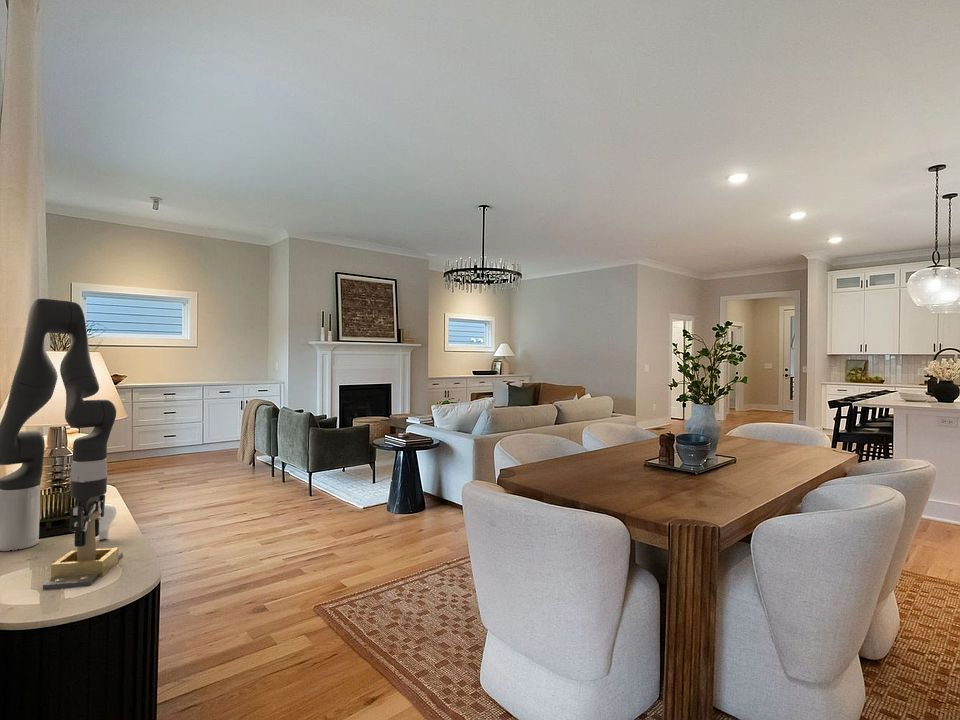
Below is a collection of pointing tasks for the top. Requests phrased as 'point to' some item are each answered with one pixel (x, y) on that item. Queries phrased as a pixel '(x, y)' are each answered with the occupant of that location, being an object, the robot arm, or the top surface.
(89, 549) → the handle
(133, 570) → the top surface
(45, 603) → the top surface
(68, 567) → the wooden frame on plate
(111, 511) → the lightbulb
